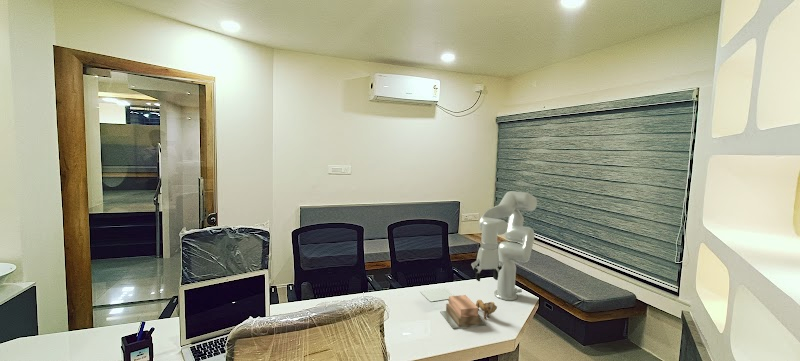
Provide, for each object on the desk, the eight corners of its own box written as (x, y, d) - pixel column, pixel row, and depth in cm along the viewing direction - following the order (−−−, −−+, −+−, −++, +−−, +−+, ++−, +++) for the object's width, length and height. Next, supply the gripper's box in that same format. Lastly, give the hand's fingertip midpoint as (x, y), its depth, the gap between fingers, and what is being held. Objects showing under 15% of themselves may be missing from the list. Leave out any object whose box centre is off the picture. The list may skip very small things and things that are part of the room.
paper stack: (466, 306, 173) (466, 305, 173) (424, 313, 164) (424, 311, 164) (444, 288, 195) (444, 287, 195) (406, 294, 186) (406, 292, 186)
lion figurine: (497, 320, 159) (499, 302, 158) (490, 323, 156) (491, 305, 155) (475, 308, 171) (476, 291, 170) (468, 310, 168) (469, 293, 167)
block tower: (470, 309, 169) (471, 293, 168) (486, 325, 154) (487, 308, 153) (440, 312, 165) (440, 296, 164) (453, 329, 149) (453, 311, 149)
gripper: (500, 243, 166) (498, 276, 167) (469, 244, 161) (467, 277, 162) (508, 247, 158) (506, 281, 160) (476, 248, 154) (474, 283, 155)
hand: (486, 279), depth 161 cm, fingers open, 9 cm apart
